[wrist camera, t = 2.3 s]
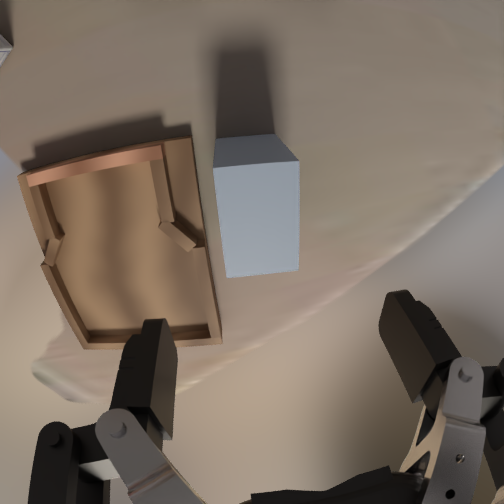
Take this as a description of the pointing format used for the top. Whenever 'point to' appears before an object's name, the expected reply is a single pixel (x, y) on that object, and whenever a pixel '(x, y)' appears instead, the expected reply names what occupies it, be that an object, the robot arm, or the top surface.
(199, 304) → the wooden serving tray
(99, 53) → the top surface
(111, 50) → the top surface
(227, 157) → the panel block
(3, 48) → the medicine box
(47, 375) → the top surface
